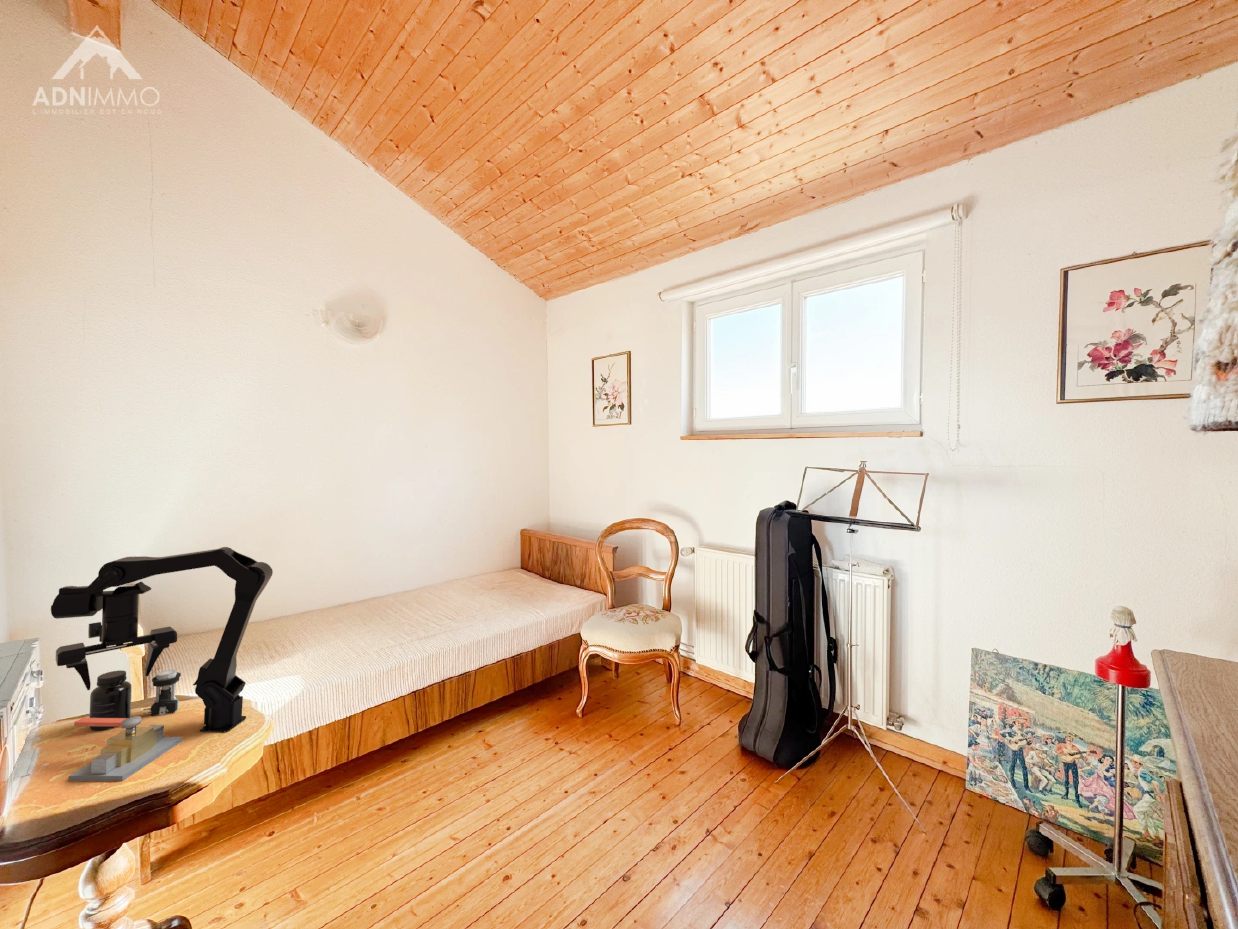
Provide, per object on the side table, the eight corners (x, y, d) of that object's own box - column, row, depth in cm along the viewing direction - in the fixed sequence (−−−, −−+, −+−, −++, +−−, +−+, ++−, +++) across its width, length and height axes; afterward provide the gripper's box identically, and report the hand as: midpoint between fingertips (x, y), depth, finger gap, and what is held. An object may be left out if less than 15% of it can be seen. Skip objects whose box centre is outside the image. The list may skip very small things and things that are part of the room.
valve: (168, 740, 109) (170, 711, 109) (111, 777, 96) (113, 744, 96) (145, 740, 108) (146, 711, 108) (84, 777, 95) (86, 744, 95)
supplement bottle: (98, 720, 116) (101, 670, 117) (135, 715, 119) (138, 666, 119) (81, 734, 110) (84, 682, 110) (121, 729, 113) (124, 677, 113)
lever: (145, 721, 104) (145, 716, 104) (132, 728, 101) (132, 723, 101) (85, 720, 103) (86, 716, 103) (70, 728, 100) (71, 723, 100)
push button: (138, 720, 117) (141, 679, 117) (147, 710, 122) (149, 671, 122) (174, 715, 120) (176, 675, 120) (181, 705, 125) (184, 667, 125)
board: (181, 741, 109) (182, 737, 109) (122, 781, 95) (122, 776, 95) (135, 741, 109) (135, 736, 109) (68, 781, 95) (68, 776, 95)
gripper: (168, 599, 121) (166, 660, 121) (54, 616, 107) (52, 686, 107) (178, 607, 115) (176, 673, 115) (58, 627, 100) (56, 702, 100)
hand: (118, 682), depth 109 cm, fingers open, 9 cm apart
